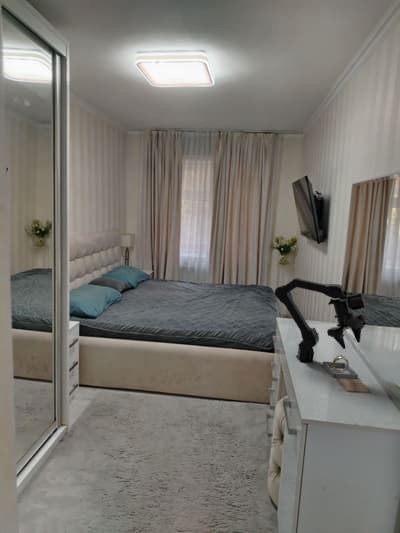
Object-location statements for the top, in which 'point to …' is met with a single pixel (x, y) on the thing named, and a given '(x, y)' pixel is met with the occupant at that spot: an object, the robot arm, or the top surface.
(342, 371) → the ring
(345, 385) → the pad
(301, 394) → the top surface
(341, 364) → the bin
